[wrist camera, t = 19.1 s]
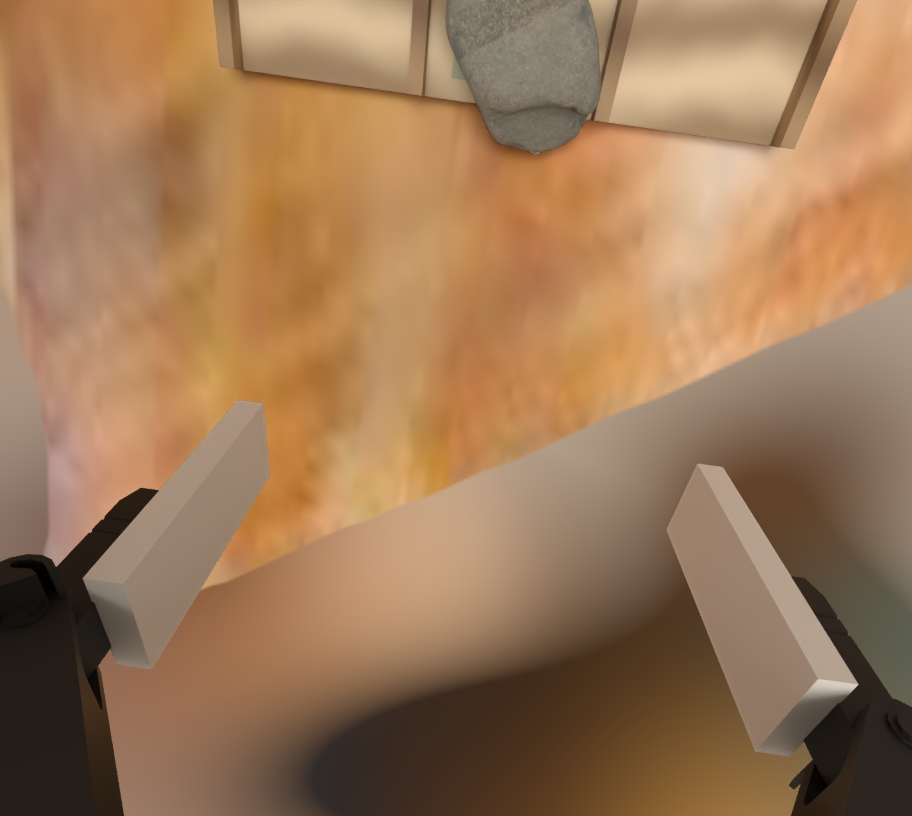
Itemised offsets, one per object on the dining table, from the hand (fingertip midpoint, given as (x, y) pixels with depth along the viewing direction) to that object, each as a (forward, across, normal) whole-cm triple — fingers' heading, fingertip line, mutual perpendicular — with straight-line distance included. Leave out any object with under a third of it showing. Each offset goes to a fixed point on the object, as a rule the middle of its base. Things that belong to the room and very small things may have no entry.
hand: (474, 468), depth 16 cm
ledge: (+32, 0, +15) cm, 35 cm away
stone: (+30, 0, +12) cm, 32 cm away
